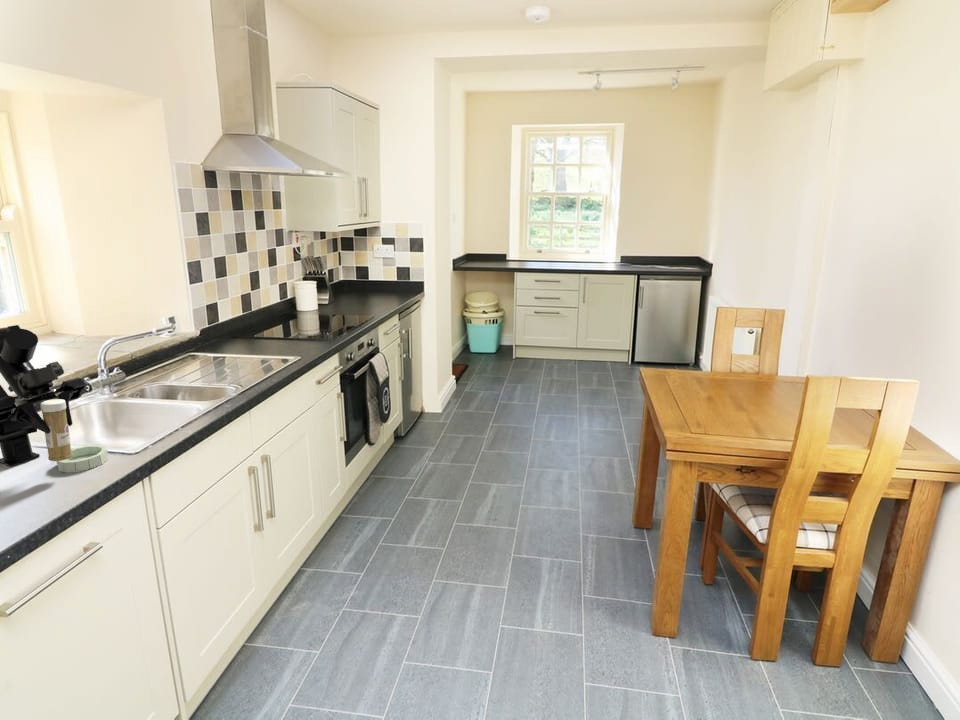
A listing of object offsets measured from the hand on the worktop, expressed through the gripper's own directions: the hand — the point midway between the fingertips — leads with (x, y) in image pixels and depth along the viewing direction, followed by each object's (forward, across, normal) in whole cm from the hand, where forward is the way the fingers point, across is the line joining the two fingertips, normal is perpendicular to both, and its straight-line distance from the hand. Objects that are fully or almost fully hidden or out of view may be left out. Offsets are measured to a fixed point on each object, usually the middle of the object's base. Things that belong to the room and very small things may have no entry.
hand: (60, 428), depth 129 cm
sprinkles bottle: (+4, 0, +6) cm, 8 cm away
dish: (+5, +6, +12) cm, 14 cm away
